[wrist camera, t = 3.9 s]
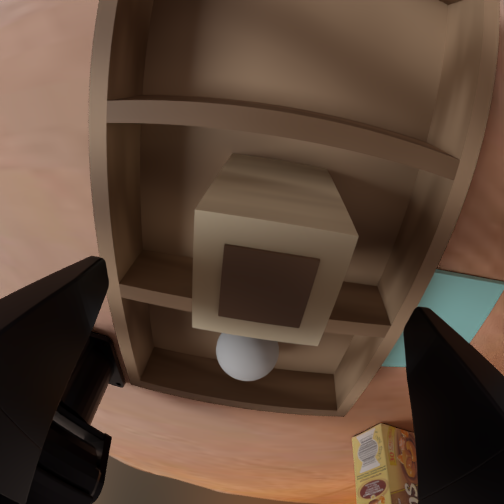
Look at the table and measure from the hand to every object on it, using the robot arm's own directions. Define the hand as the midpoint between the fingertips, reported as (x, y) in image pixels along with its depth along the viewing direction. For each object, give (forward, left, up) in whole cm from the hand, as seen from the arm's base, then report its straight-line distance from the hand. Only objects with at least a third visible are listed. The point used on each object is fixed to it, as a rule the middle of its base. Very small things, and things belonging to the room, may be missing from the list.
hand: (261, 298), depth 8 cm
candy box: (-23, -17, -7) cm, 30 cm away
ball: (-8, 0, -6) cm, 10 cm away
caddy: (0, 0, -7) cm, 7 cm away
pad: (-6, -12, -7) cm, 15 cm away
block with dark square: (0, 0, -6) cm, 6 cm away
